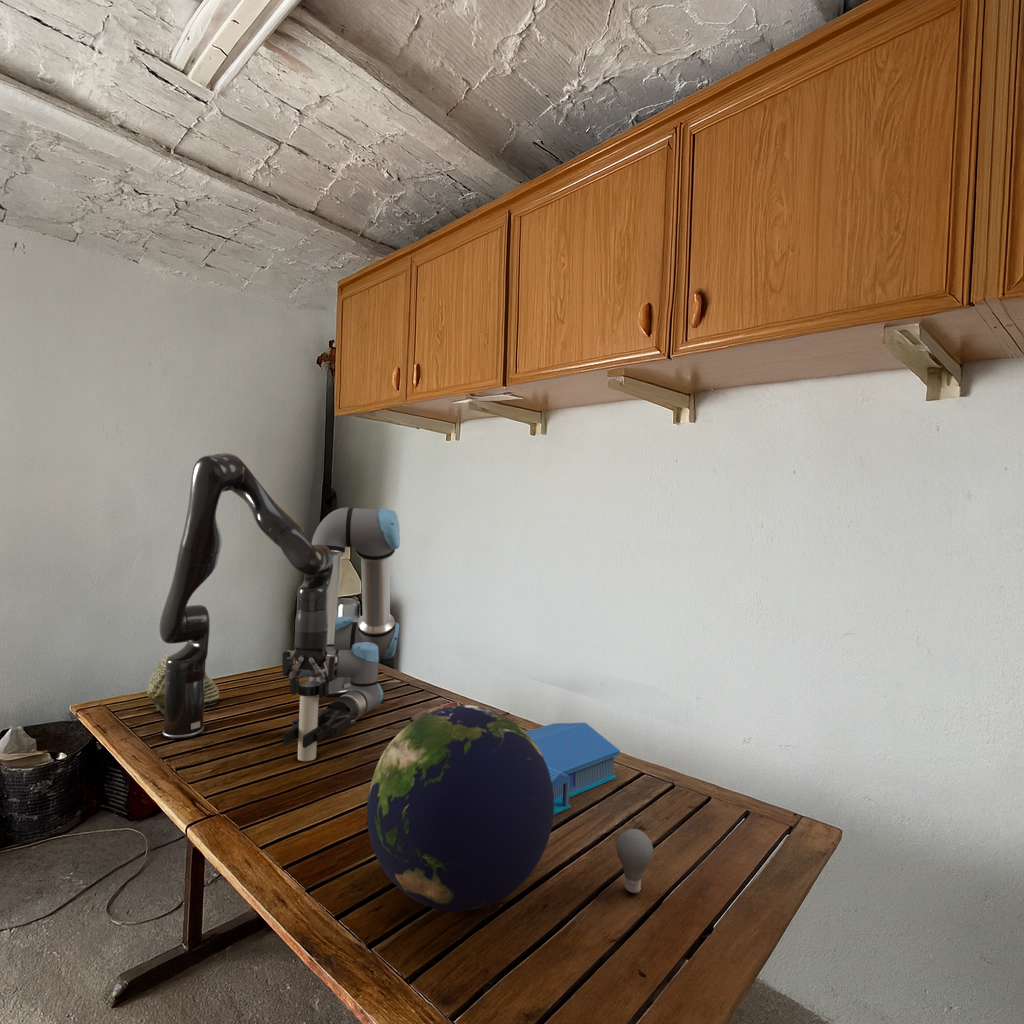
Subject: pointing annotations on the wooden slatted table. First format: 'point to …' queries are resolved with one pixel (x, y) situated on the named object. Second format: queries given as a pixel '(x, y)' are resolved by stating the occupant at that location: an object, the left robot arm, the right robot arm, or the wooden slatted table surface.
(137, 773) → the wooden slatted table surface
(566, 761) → the model building
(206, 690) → the fossil
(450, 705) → the anatomical model
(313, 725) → the cream bottle
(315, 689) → the lid
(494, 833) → the globe
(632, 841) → the light bulb
